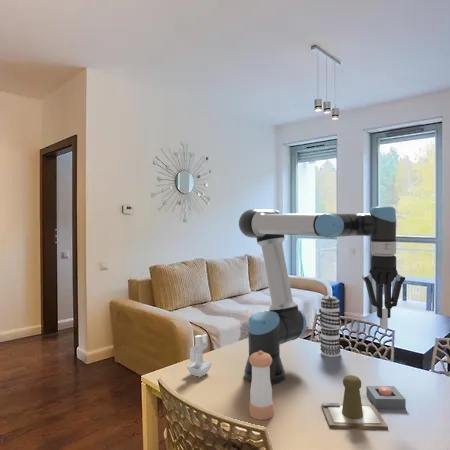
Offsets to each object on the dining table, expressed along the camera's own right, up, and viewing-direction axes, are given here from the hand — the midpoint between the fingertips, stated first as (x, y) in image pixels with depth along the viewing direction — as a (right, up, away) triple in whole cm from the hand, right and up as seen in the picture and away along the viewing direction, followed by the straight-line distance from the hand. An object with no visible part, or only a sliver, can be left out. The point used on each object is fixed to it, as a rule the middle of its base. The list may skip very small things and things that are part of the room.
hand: (383, 327), depth 117 cm
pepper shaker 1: (-40, -25, -6) cm, 47 cm away
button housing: (+1, -24, 0) cm, 24 cm away
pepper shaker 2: (-13, -23, -9) cm, 28 cm away
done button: (+1, -22, 0) cm, 22 cm away
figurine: (-61, -25, +23) cm, 70 cm away
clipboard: (-13, -24, -9) cm, 29 cm away
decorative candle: (-5, -24, +43) cm, 50 cm away
